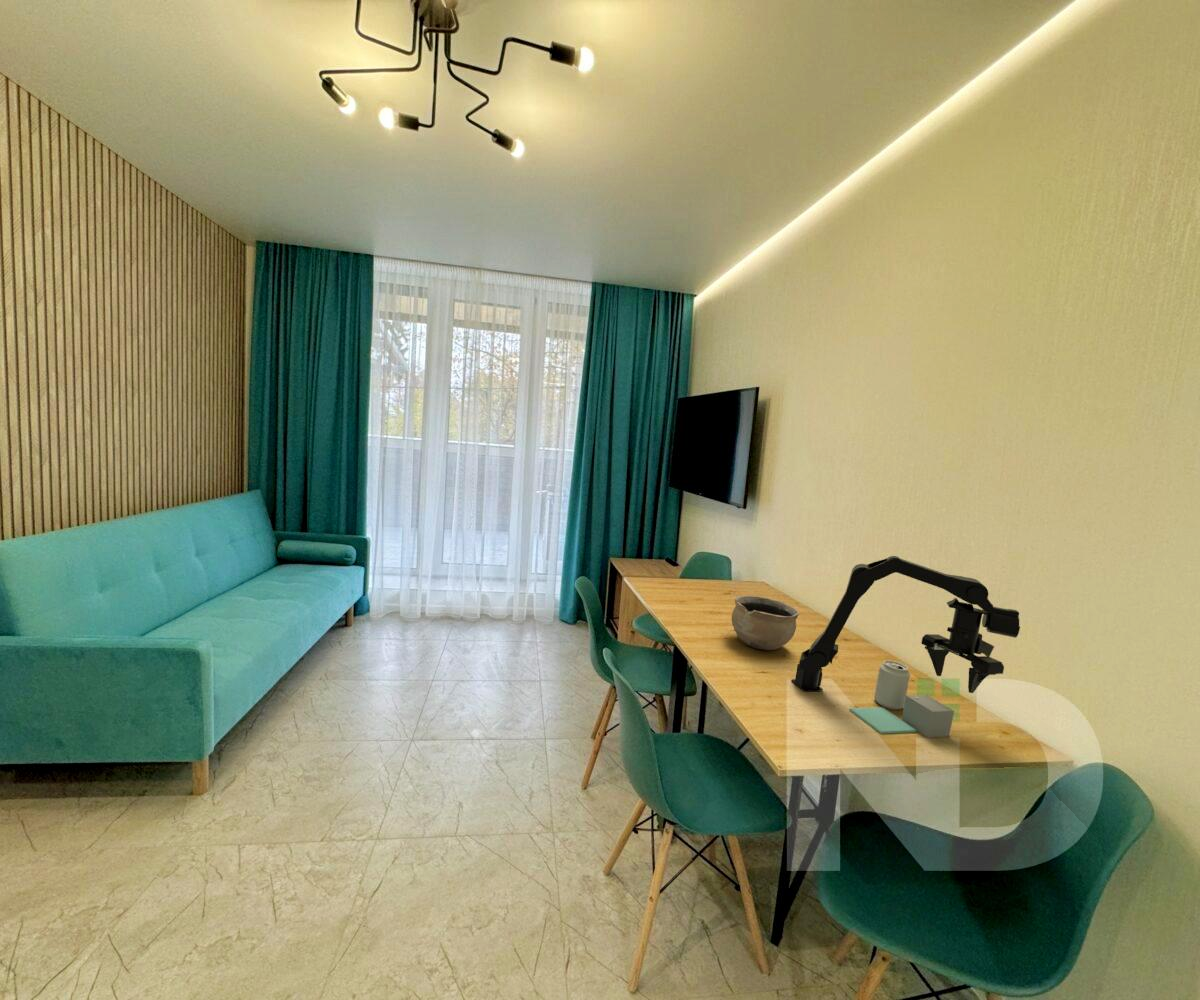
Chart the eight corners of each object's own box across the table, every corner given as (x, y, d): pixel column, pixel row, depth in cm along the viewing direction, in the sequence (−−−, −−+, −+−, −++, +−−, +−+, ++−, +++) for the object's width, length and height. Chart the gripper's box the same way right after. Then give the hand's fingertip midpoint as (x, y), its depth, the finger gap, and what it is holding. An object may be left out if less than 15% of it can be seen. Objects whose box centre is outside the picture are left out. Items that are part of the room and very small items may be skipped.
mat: (880, 733, 127) (881, 731, 127) (849, 710, 138) (849, 708, 138) (915, 732, 130) (916, 729, 130) (882, 709, 141) (882, 707, 141)
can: (903, 714, 139) (911, 673, 138) (872, 704, 143) (880, 664, 142) (903, 704, 146) (911, 664, 144) (874, 695, 150) (881, 656, 148)
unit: (927, 737, 128) (932, 710, 127) (901, 720, 136) (906, 694, 135) (950, 736, 130) (955, 710, 129) (923, 719, 138) (928, 694, 137)
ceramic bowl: (715, 634, 185) (721, 594, 183) (761, 631, 194) (767, 593, 193) (758, 661, 165) (765, 616, 163) (806, 655, 174) (813, 613, 173)
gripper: (1026, 641, 125) (1013, 701, 127) (956, 615, 143) (946, 667, 145) (992, 641, 122) (979, 702, 124) (924, 614, 140) (914, 668, 142)
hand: (954, 684), depth 133 cm, fingers open, 9 cm apart
